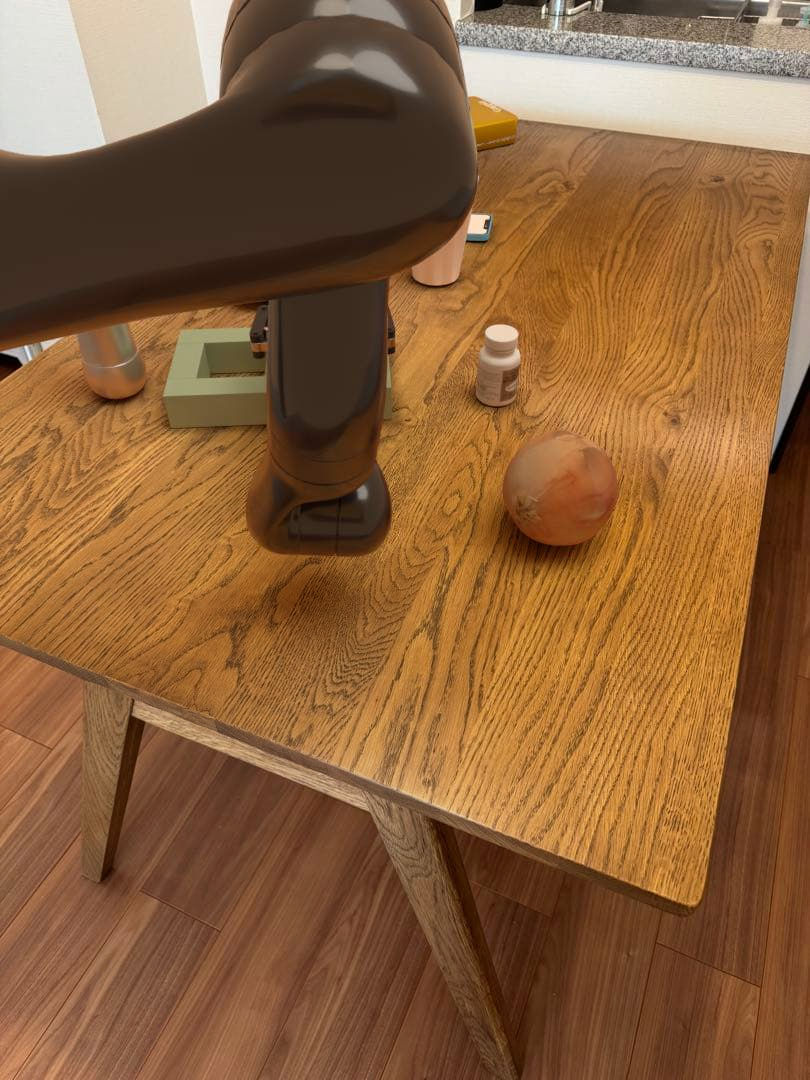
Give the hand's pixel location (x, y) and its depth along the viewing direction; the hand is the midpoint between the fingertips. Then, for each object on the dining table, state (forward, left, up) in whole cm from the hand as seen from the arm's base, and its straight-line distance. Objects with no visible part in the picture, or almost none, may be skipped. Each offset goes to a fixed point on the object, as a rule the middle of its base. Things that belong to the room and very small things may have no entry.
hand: (324, 293), depth 81 cm
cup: (+14, +23, -10) cm, 29 cm away
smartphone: (+16, +38, -10) cm, 42 cm away
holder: (-5, -2, -10) cm, 11 cm away
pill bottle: (+18, -5, -10) cm, 21 cm away
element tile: (+24, +77, -10) cm, 81 cm away
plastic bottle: (-23, -1, -10) cm, 25 cm away
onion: (+20, -26, -10) cm, 34 cm away
